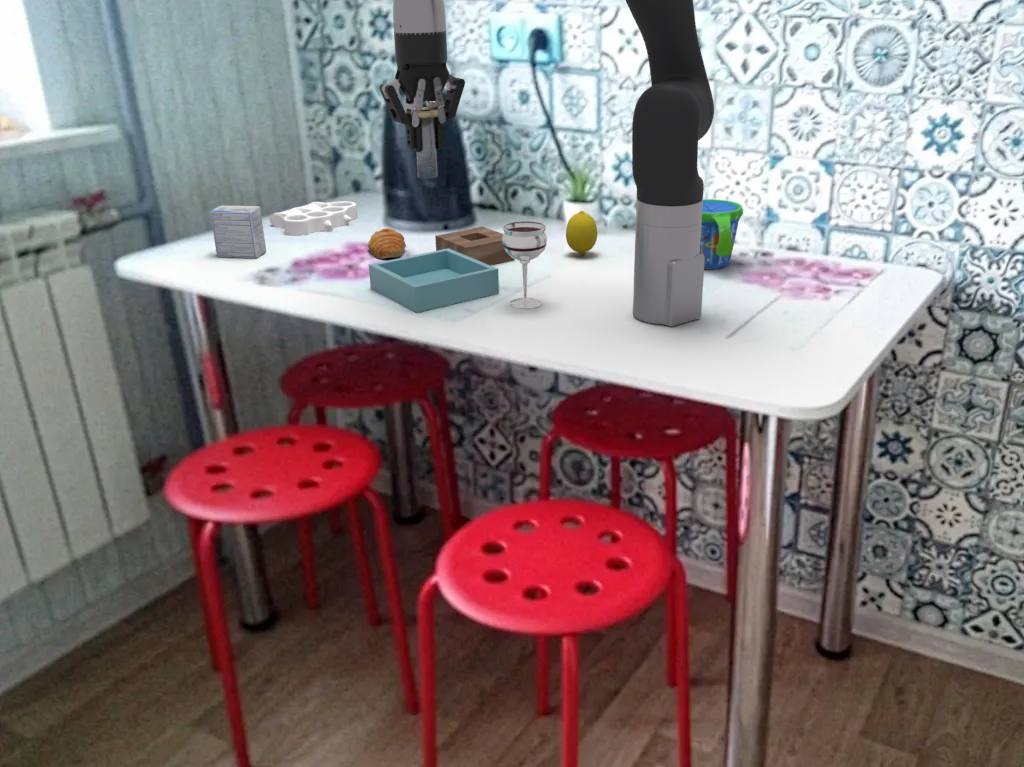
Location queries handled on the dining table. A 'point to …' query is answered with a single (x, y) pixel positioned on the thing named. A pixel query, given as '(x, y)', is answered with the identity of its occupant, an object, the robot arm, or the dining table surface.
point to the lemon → (581, 232)
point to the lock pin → (427, 143)
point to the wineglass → (524, 251)
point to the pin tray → (433, 279)
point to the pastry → (386, 244)
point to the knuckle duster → (315, 217)
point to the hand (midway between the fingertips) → (426, 149)
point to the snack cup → (718, 231)
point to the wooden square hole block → (475, 244)
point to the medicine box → (238, 231)
